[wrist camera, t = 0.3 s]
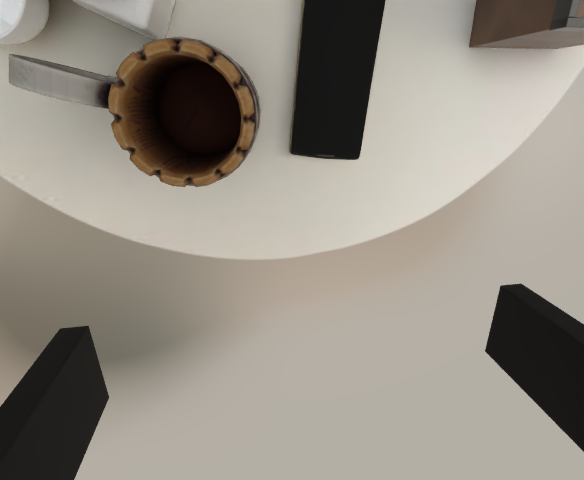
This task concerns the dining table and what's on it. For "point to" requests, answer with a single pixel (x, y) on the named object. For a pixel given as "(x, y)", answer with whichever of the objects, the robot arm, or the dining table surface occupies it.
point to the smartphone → (334, 76)
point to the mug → (164, 106)
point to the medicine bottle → (135, 14)
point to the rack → (528, 24)
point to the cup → (22, 20)
